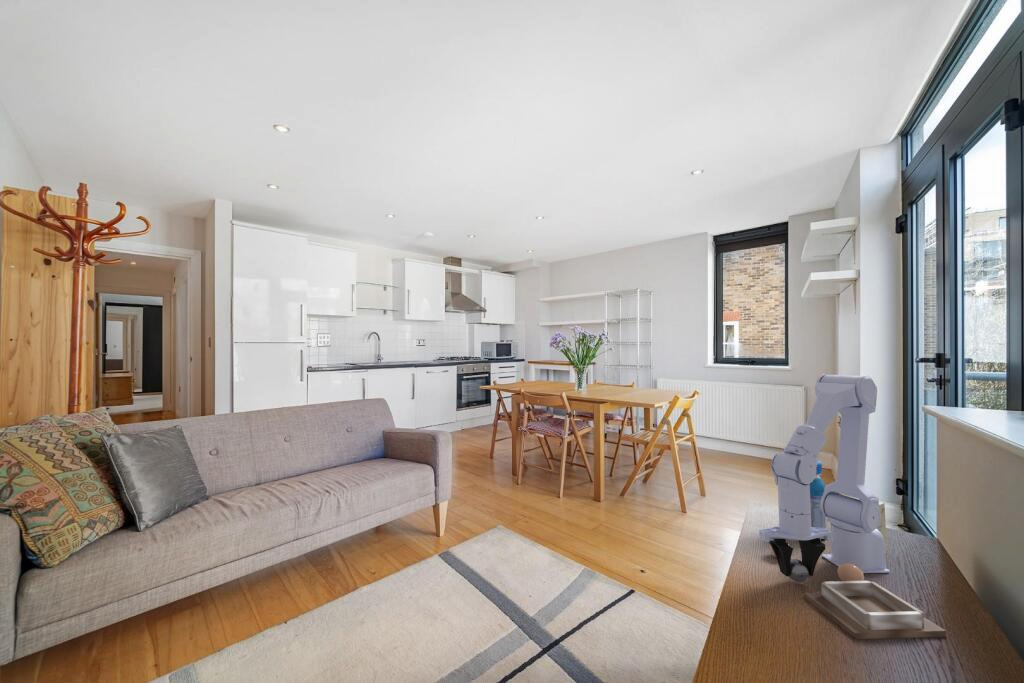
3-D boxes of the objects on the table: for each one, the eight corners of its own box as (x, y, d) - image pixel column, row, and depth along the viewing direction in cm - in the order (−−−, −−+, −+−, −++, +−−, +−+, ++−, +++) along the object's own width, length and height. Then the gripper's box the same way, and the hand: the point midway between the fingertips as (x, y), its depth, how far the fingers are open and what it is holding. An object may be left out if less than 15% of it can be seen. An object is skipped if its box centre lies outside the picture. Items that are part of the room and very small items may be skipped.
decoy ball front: (783, 552, 101) (782, 534, 101) (795, 562, 97) (795, 543, 97) (765, 553, 101) (765, 535, 101) (777, 562, 96) (776, 543, 97)
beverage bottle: (830, 544, 105) (827, 465, 106) (790, 536, 110) (788, 461, 110) (826, 531, 112) (823, 458, 113) (789, 525, 117) (786, 454, 117)
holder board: (882, 595, 83) (881, 578, 83) (946, 636, 71) (945, 616, 71) (804, 597, 83) (804, 580, 83) (855, 639, 71) (854, 618, 71)
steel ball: (799, 574, 90) (798, 554, 90) (814, 586, 86) (813, 564, 86) (779, 575, 90) (779, 554, 90) (793, 586, 85) (793, 565, 86)
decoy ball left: (852, 579, 89) (851, 558, 89) (870, 590, 85) (869, 569, 85) (832, 579, 89) (831, 559, 89) (849, 591, 85) (848, 569, 85)
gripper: (813, 502, 92) (815, 563, 92) (749, 503, 92) (751, 564, 92) (839, 514, 85) (841, 580, 85) (770, 516, 85) (772, 582, 85)
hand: (796, 573), depth 88 cm, fingers closed on steel ball, 4 cm apart
